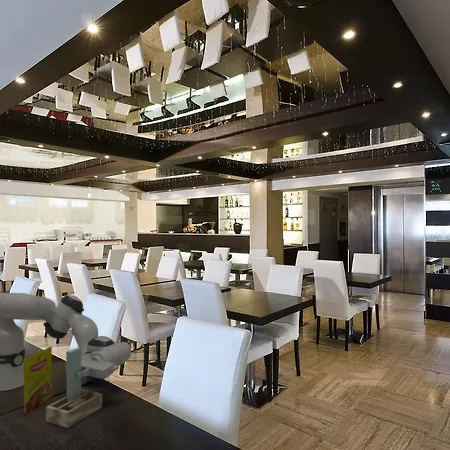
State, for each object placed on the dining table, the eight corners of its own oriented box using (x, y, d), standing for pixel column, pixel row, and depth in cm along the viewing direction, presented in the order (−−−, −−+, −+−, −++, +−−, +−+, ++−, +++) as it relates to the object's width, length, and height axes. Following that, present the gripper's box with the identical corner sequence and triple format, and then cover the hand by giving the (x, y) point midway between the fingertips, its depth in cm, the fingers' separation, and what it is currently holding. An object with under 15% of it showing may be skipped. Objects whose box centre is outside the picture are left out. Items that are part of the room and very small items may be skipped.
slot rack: (45, 421, 131) (45, 406, 131) (81, 401, 145) (81, 388, 145) (67, 428, 126) (67, 413, 126) (102, 407, 141) (102, 393, 141)
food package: (25, 415, 135) (24, 359, 135) (22, 415, 135) (22, 359, 135) (53, 396, 150) (52, 346, 150) (50, 396, 150) (50, 345, 150)
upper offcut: (67, 413, 132) (67, 406, 132) (79, 405, 138) (79, 398, 138) (74, 414, 131) (74, 407, 131) (86, 406, 137) (86, 399, 137)
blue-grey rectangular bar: (66, 412, 137) (66, 351, 137) (77, 406, 142) (77, 347, 142) (70, 413, 136) (70, 352, 136) (81, 407, 141) (81, 348, 141)
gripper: (121, 374, 147) (94, 388, 134) (81, 366, 155) (53, 378, 143) (120, 358, 147) (94, 370, 134) (81, 351, 155) (53, 362, 143)
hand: (73, 374), depth 138 cm, fingers closed on blue-grey rectangular bar, 2 cm apart
